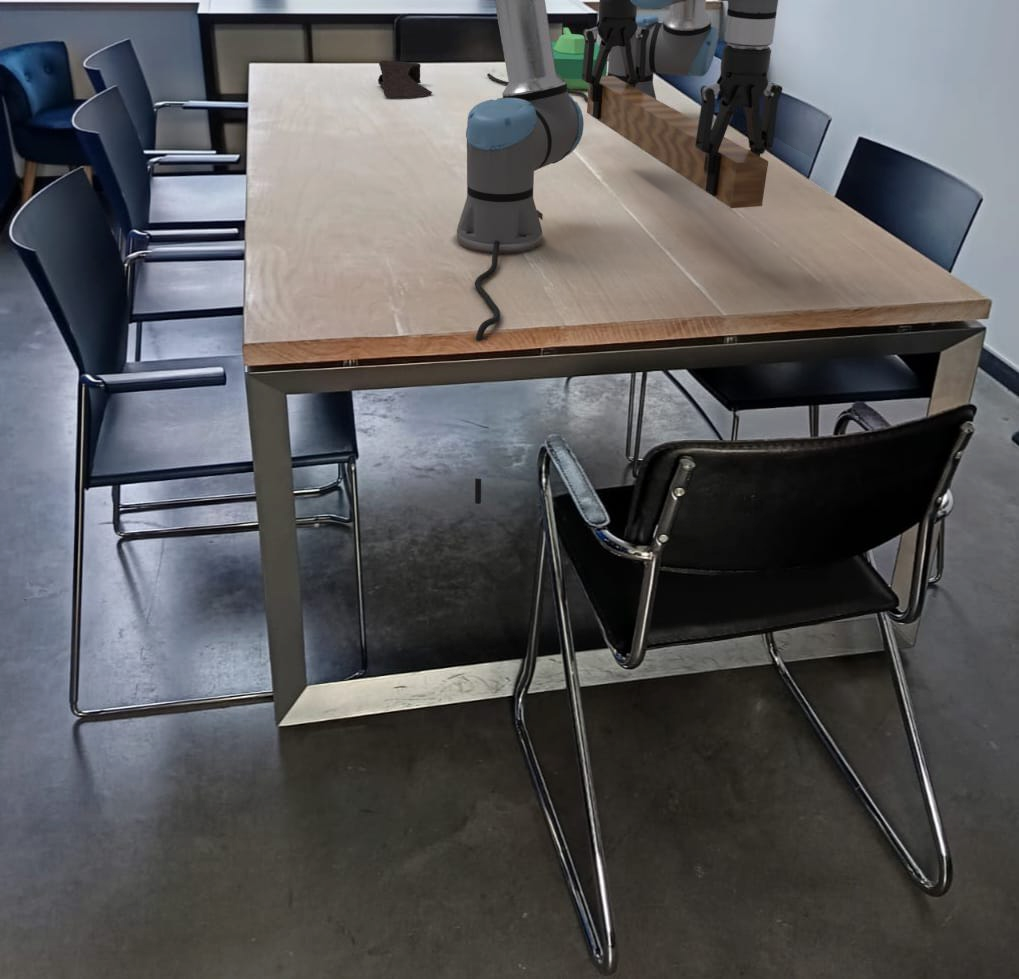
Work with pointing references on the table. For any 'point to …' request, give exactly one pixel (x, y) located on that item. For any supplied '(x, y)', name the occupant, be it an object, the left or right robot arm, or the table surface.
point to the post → (680, 143)
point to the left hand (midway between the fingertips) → (728, 191)
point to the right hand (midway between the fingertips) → (610, 116)
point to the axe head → (401, 79)
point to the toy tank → (572, 59)
